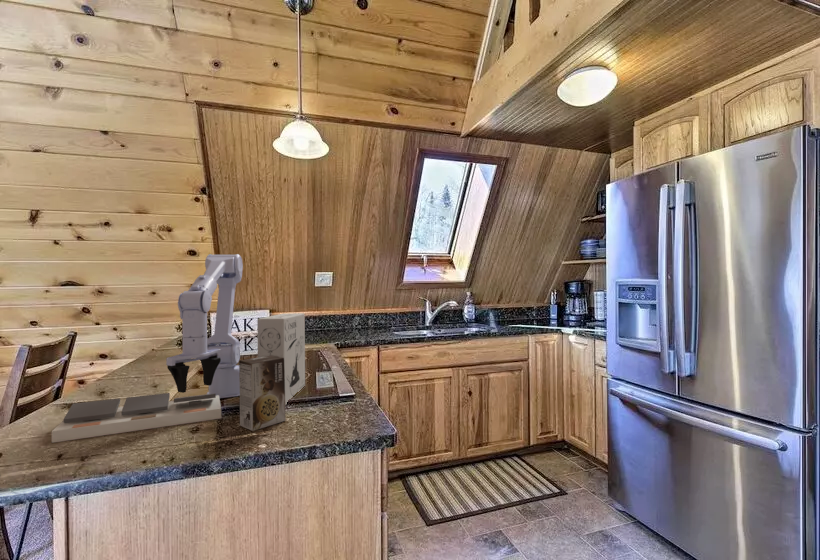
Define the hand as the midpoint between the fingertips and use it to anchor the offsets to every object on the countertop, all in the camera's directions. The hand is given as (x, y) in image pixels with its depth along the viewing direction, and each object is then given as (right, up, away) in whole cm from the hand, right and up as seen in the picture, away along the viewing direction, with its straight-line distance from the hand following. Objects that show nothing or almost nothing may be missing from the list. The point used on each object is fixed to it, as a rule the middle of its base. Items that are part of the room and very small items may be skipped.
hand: (195, 388), depth 106 cm
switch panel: (-11, -8, -2) cm, 14 cm away
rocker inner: (-1, -3, +3) cm, 5 cm away
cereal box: (+17, -8, +19) cm, 27 cm away
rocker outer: (-21, -3, -7) cm, 23 cm away
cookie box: (+20, -7, -5) cm, 22 cm away
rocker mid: (-11, -3, -2) cm, 12 cm away
